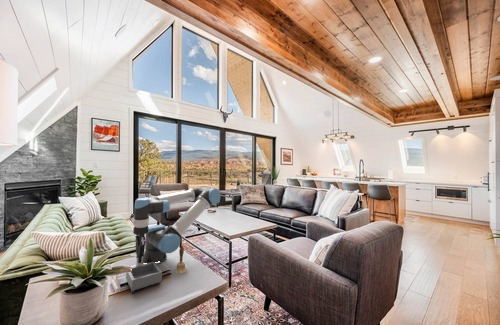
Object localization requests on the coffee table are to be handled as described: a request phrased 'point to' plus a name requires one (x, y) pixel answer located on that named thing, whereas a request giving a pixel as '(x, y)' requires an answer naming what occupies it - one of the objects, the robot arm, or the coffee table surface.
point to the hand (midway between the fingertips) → (138, 267)
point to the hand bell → (181, 262)
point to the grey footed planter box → (144, 276)
